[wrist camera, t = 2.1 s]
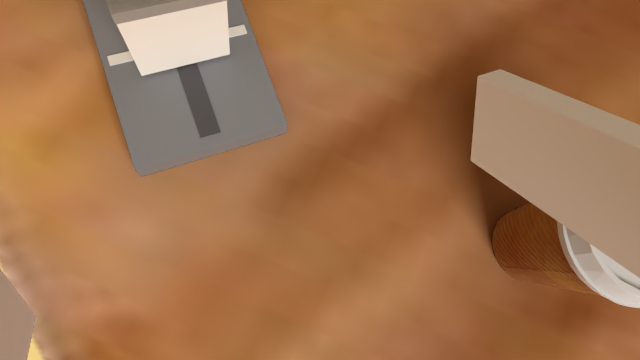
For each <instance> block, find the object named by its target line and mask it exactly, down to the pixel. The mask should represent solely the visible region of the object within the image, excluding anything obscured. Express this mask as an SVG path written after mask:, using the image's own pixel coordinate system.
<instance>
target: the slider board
mask: <svg viewBox="0 0 640 360" xmlns="http://www.w3.org/2000/svg"><path fill="white" fill-rule="evenodd" d="M83 3H84V6H85V9H86V12H87V16H88V19H89V22H90V25H91V29H92V32H93V35H94V38H95V42H96V45H97V48H98V51H99V55H100V58H101V61H102V64H103V68H104V71H105V74H106V77H107V81H108V84H109V87H110V90H111V94H112V97H113V100H114V103H115V107H116V110H117V113H118V116H119V120H120V123H121V126H122V129H123V133H124V136H125V139H126V142H127V146H128V149H129V152H130V155H131V159H132V162H133V165H134V168H135V171H136V172H137V173H138V174H139V175H140V176H141V177H142V176H146V175H149V174H152V173H156V172H159V171H162V170H166V169H169V168H172V167H176V166H179V165H182V164H186V163H189V162H192V161H196V160H199V159H202V158H205V157H209V156H212V155H215V154H219V153H222V152H225V151H229V150H232V149H235V148H239V147H242V146H245V145H249V144H252V143H255V142H259V141H262V140H265V139H269V138H272V137H275V136H278V135H282V134H285V133H286V130H287V126H288V124H287V122H286V119H285V116H284V114H283V111H282V108H281V106H280V103H279V100H278V98H277V95H276V92H275V90H274V87H273V84H272V82H271V79H270V76H269V74H268V71H267V68H266V66H265V63H264V60H263V58H262V55H261V52H260V50H259V47H258V44H257V42H256V39H255V36H254V34H253V31H252V28H251V26H250V23H249V20H248V18H247V15H246V12H245V10H244V7H243V4H242V2H241V0H227V11H228V29H229V47H230V54H229V55H225V56H221V57H217V58H213V59H209V60H205V61H201V62H197V63H193V64H189V65H185V66H181V67H176V68H172V69H168V70H164V71H160V72H156V73H152V74H148V75H144V76H141V74H140V72H139V69H138V67H137V65H136V63H135V61H134V59H133V57H132V55H131V53H130V51H129V49H128V47H127V45H126V43H125V41H124V39H123V37H122V35H121V33H120V31H119V28H118V26H117V24H116V25H115V22H114V20H113V18H112V16H111V14H110V11H109V8H108V5H107V1H106V0H83Z"/></svg>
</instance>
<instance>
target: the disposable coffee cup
mask: <svg viewBox="0 0 640 360" xmlns="http://www.w3.org/2000/svg"><path fill="white" fill-rule="evenodd" d="M492 245H493V251H494V254H495V257H496V259H497V261H498V263H499V264H500V266H501V267H502V268H503V269H504V270H505V271H506V272H507V273H508V274H509V275H511V276H512V277H514V278H516V279H518V280H521V281H527V282H532V283H538V284H543V285H548V286H553V287H559V288H563V289H569V290H574V291H580V292H585V293H590V294H595V295H601V296H603V297H605V298H607V299H609V300H611V301H613V302H615V303H617V304H620V305H624V306H629V307H635V308H640V278H639V277H637V276H636V275H634V274H633V273H631V272H630V271H629V270H627V269H626V268H624V267H623V266H621V265H620V264H618V263H617V262H616V261H614V260H613V259H611V258H610V257H608V256H607V255H606V254H604V253H603V252H601V251H600V250H598V249H597V248H595V247H594V246H593V245H591V244H590V243H588V242H587V241H585V240H584V239H582V238H581V237H580V236H578V235H577V234H575V233H574V232H572V231H571V230H570V229H568V228H567V227H565V226H564V225H562V224H561V223H559V222H558V221H557V220H555V219H554V218H552V217H551V216H549V215H548V214H547V213H545V212H544V211H542V210H541V209H539V208H538V207H536V206H535V205H534V204H532V203H531V202H529V203H527V204H525V205H523V206H521V207H519V208H517V209H515V210H513V211H510V212H508V213H506V214H505V215H504V216H502V217H501V218H500V219H499V221H498V222H497V224H496V226H495V228H494V231H493V237H492Z"/></svg>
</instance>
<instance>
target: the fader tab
mask: <svg viewBox="0 0 640 360" xmlns="http://www.w3.org/2000/svg"><path fill="white" fill-rule="evenodd" d="M106 1H107V5H108V8H109V11H110V14H111V16H112V18H113V20H114V22H115V25H116V24H117V26H118V28H119V31H120V33H121V35H122V37H123V39H124V41H125V43H126V45H127V47H128V49H129V51H130V53H131V55H132V57H133V59H134V61H135V63H136V65H137V67H138V69H139V72H140V74H141V76H144V75H148V74H152V73H156V72H160V71H164V70H168V69H172V68H176V67H181V66H185V65H189V64H193V63H197V62H201V61H205V60H209V59H213V58H217V57H221V56H225V55H229V54H230V47H229V29H228V11H227V0H106Z"/></svg>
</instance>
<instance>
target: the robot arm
mask: <svg viewBox="0 0 640 360" xmlns="http://www.w3.org/2000/svg"><path fill="white" fill-rule="evenodd" d="M471 161H472V162H473V163H475V164H476V165H477V166H479V167H480V168H482V169H483V170H485V171H486V172H487V173H489V174H490V175H492V176H493V177H495V178H496V179H498V180H499V181H500V182H502V183H503V184H505V185H506V186H508V187H509V188H511V189H512V190H513V191H515V192H516V193H518V194H519V195H521V196H522V197H523V198H525V199H526V200H528V201H529V202H531V203H532V204H534V205H535V206H536V207H538V208H539V209H541V210H542V211H544V212H545V213H547V214H548V215H549V216H551V217H552V218H554V219H555V220H557V221H558V222H559V223H561V224H562V225H564V226H565V227H567V228H568V229H570V230H571V231H572V232H574V233H575V234H577V235H578V236H580V237H581V238H582V239H584V240H585V241H587V242H588V243H590V244H591V245H593V246H594V247H595V248H597V249H598V250H600V251H601V252H603V253H604V254H606V255H607V256H608V257H610V258H611V259H613V260H614V261H616V262H617V263H618V264H620V265H621V266H623V267H624V268H626V269H627V270H629V271H630V272H631V273H633V274H634V275H636V276H637V277H639V278H640V125H638V124H636V123H633V122H631V121H628V120H626V119H623V118H621V117H618V116H616V115H613V114H611V113H608V112H606V111H603V110H601V109H598V108H596V107H593V106H591V105H588V104H586V103H583V102H581V101H578V100H576V99H573V98H571V97H568V96H566V95H563V94H561V93H559V92H556V91H554V90H551V89H549V88H546V87H544V86H541V85H539V84H536V83H534V82H531V81H529V80H526V79H524V78H521V77H519V76H516V75H514V74H511V73H509V72H506V71H504V70H501V69H499V70H496V71H493V72H489V73H486V74H483V75H479V76H478V78H477V90H476V102H475V114H474V125H473V137H472V149H471ZM35 318H36V315H35V314H34V312H33V311H32V310H31V308H30V307H29V306H28V305H27V303H26V302H25V301H24V299H23V298H22V297H21V295H20V294H19V293H18V292H17V290H16V289H15V288H14V286H13V285H12V284H11V283H10V281H9V280H8V279H7V277H6V276H5V275H4V273H3V272H2V271H1V270H0V360H27V357H28V352H29V347H30V342H31V337H32V332H33V327H34V322H35Z"/></svg>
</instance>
